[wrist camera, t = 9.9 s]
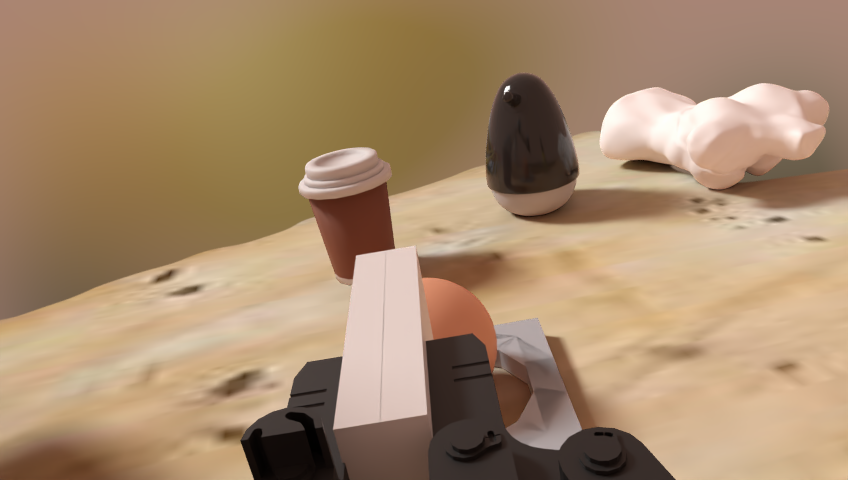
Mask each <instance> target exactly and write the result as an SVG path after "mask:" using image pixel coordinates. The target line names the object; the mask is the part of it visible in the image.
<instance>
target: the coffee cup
mask: <svg viewBox="0 0 848 480" xmlns="http://www.w3.org/2000/svg"><path fill="white" fill-rule="evenodd" d="M305 171H306V174H305V176H304V179H303V180H302V181H300V185H299V192H300V194H301V195H302V196H303V197H305V198H308V199H309V201H310V204H311V207H312V210H313V213H314V215H315V218H316V221H317V224H318V227H319V229H320V232H321V235H322V238H323V241H324V244H325V246H326V249H327V252H328V255H329V258H330V261H331V263H332V266H333V269H334V272H335V275H336V279H337V280H338V281H339V282H340V283H343V284H347V285H352V283H353V275H354V268H355V260H356V256H357V255H362V254H368V253H374V252H380V251H386V250H392V249H395V246H394V238H393V230H392V222H391V215H390V207H389V199H388V191H387V183H386V181H387V180H388V179H389V178H390V177H391V176H392V174H391V168H390V164H389V163H386V162H384V161H382V160H381V159H379V158H378V157H377V152H376V151H375V150H373V149H371V148H361V147H359V148H349V149H343V150H338V151H334V152H331V153H327V154H324V155H321V156H319V157H317V158H314V159H313V160H311V161H310V162H308V163H307V164H306V167H305Z"/></svg>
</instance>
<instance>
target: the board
mask: <svg viewBox="0 0 848 480" xmlns="http://www.w3.org/2000/svg"><path fill="white" fill-rule="evenodd" d="M494 329H495V332H496V338H497V357H496V362H495V366H494V367H501V368H503V369H505V370H506V371H508V372H509V373H511V374H513V375H514V376H516V377H517V378H519V379H520V380H522V381H523V382H525V383H527V384H528V385H529V388H530V392H531V395H532V396H531V398H530V400H529V402H528V403H527V405H526V407H525V409H524V411H523V412H522V414H521V416H520V418H519V419H518V421H517V422H515V423H514V424H512V425H510V426H509V427H507V428H506V430H507V431H508V432H509V433H510V435H511V436H512V437H514V438H515V439H517V440H518V441H520V442H521V443H524V444H527V445H529V446H532V447H537V448H543V449H553V450H560V447H561V446H562V444H563V443H564V442H565V441H566V440H567V438H568V437H569V436H571V435H573V434H575V433H577V432H579V431H581V430H582V428H581V426H580V423H579V421H578V418H577V416H576V413H575V410H574V408H573V405H572V403H571V400H570V398H569V395H568V393H567V390H566V388H565V385H564V383H563V380H562V378H561V375H560V373H559V370H558V368H557V365H556V363H555V360H554V358H553V355H552V353H551V350H550V348H549V345H548V342H547V340H546V337H545V335H544V332H543V330H542V327H541V325H540V322H539V320H538V318H534V319H528V320H522V321H517V322H511V323H505V324H500V325H494Z"/></svg>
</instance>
